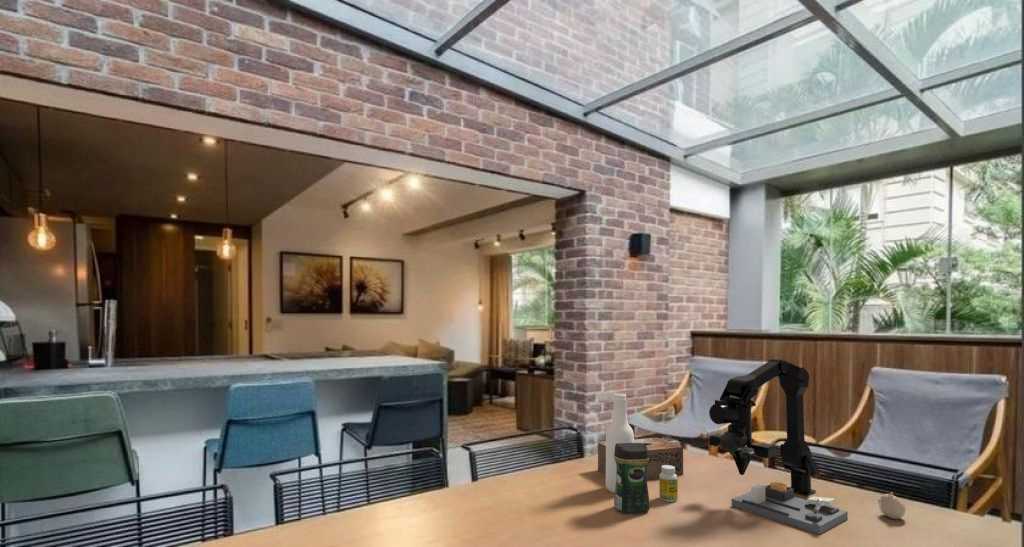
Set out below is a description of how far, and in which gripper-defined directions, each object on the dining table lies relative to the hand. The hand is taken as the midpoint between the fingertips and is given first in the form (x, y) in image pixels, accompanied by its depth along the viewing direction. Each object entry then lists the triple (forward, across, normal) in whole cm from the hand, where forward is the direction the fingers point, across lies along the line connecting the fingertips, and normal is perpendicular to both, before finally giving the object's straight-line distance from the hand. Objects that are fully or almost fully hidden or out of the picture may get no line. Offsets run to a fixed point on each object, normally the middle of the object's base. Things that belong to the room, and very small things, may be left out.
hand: (741, 474), depth 154 cm
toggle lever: (+5, +20, 0) cm, 21 cm away
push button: (+6, +6, +10) cm, 13 cm away
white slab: (+5, +18, +10) cm, 21 cm away
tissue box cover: (+9, -37, -1) cm, 38 cm away
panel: (+8, +11, +5) cm, 15 cm away
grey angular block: (+6, +5, 0) cm, 8 cm away
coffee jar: (+9, -16, -31) cm, 36 cm away
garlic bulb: (+9, +30, +26) cm, 41 cm away
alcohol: (+9, -29, -21) cm, 37 cm away
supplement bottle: (+9, -15, -15) cm, 23 cm away
